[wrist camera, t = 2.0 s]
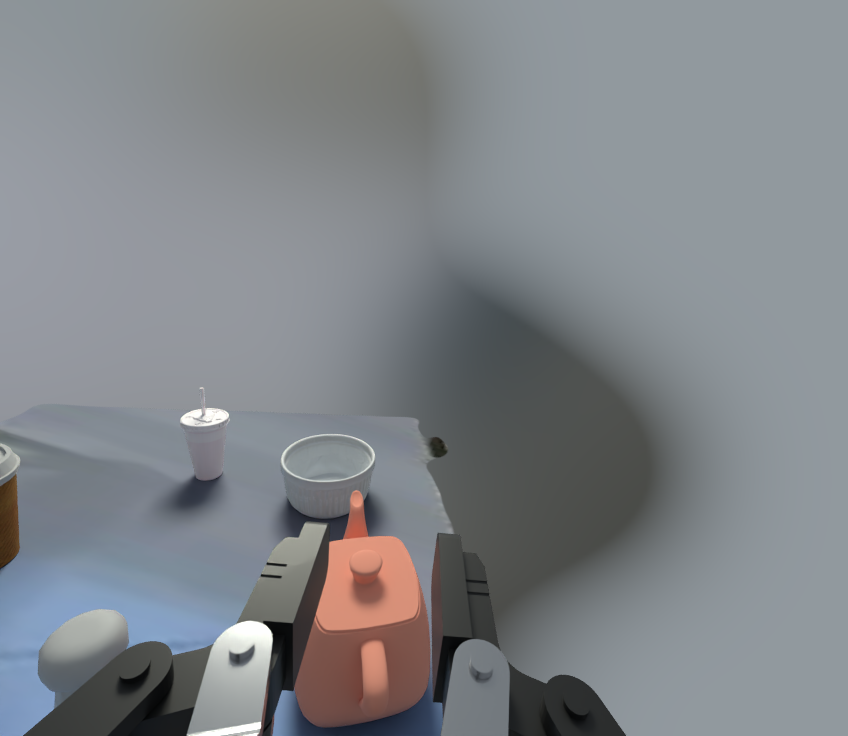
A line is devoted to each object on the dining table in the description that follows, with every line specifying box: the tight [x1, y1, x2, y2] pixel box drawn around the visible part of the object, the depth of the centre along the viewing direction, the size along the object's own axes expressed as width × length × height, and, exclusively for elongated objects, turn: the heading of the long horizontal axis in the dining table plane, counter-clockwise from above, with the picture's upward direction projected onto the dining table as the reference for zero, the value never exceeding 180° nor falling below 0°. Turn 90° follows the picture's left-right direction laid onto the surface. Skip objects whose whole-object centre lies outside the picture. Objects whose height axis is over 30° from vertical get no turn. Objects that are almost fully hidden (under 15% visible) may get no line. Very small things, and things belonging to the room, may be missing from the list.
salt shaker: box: [38, 609, 129, 709], centre depth 26 cm, size 6×6×13 cm
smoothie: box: [180, 388, 229, 480], centre depth 60 cm, size 6×6×14 cm
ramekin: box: [281, 434, 375, 519], centre depth 59 cm, size 13×13×7 cm
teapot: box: [294, 490, 430, 728], centre depth 36 cm, size 20×12×12 cm, turn 14°
